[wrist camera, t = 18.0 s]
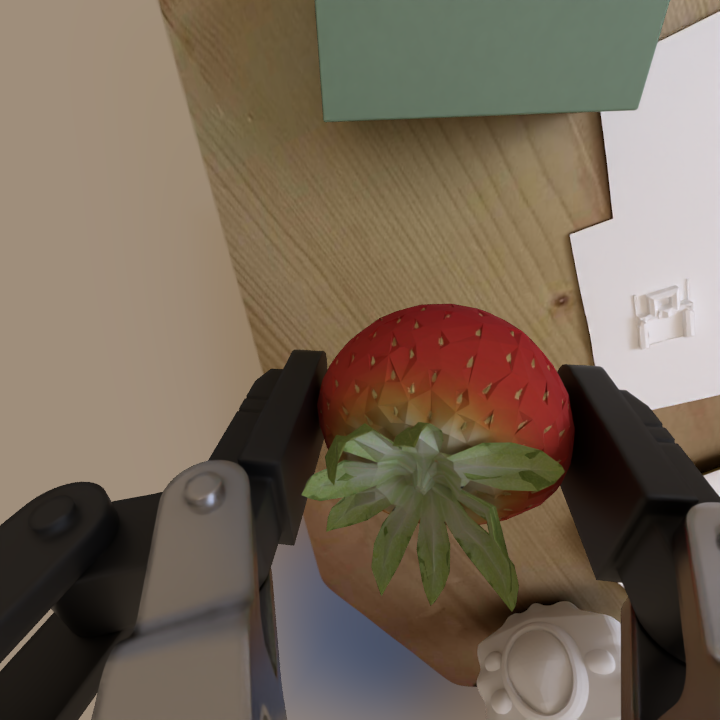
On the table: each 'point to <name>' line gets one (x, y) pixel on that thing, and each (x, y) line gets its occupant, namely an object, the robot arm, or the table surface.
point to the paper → (661, 230)
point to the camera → (552, 666)
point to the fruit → (441, 438)
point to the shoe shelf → (483, 56)
